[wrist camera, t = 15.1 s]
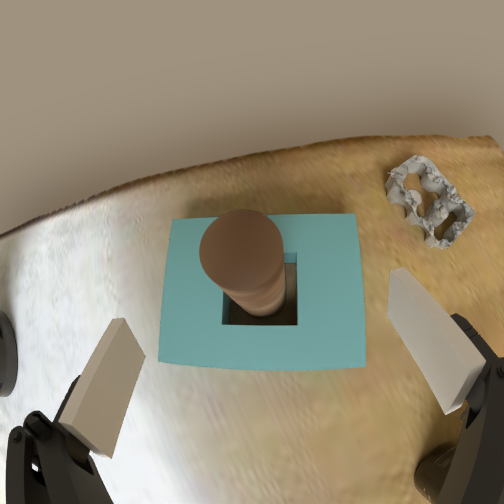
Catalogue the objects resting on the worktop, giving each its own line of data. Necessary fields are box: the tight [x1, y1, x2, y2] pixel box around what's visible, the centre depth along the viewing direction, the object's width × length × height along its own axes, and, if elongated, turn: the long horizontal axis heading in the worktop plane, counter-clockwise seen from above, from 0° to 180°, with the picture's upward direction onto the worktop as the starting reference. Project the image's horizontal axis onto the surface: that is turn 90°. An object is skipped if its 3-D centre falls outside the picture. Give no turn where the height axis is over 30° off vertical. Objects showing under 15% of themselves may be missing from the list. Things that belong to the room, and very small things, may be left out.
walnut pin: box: [199, 210, 286, 319], centre depth 20 cm, size 4×4×13 cm
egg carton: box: [385, 155, 476, 250], centre depth 25 cm, size 11×8×4 cm
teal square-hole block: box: [158, 214, 366, 371], centre depth 25 cm, size 18×14×3 cm
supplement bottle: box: [414, 442, 504, 504], centre depth 11 cm, size 7×7×12 cm
